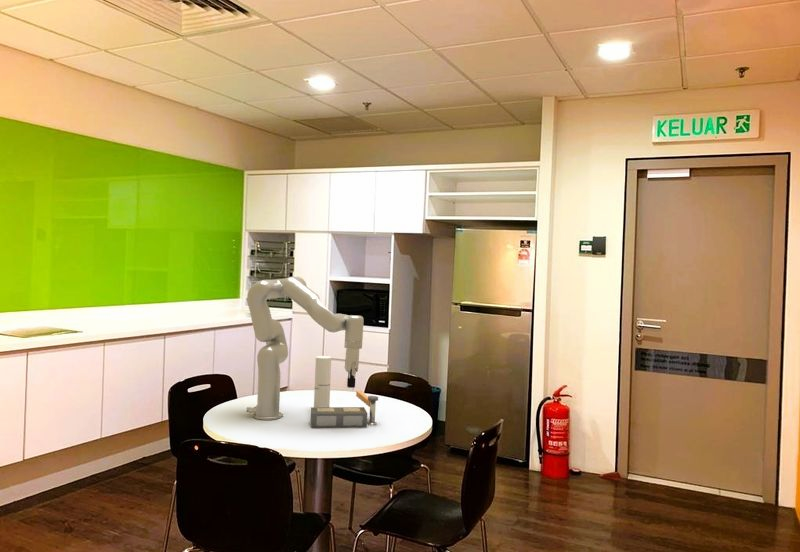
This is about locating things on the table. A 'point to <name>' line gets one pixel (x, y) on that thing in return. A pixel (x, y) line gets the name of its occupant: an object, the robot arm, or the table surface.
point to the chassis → (338, 417)
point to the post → (372, 413)
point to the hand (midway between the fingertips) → (351, 387)
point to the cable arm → (366, 397)
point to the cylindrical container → (322, 381)
